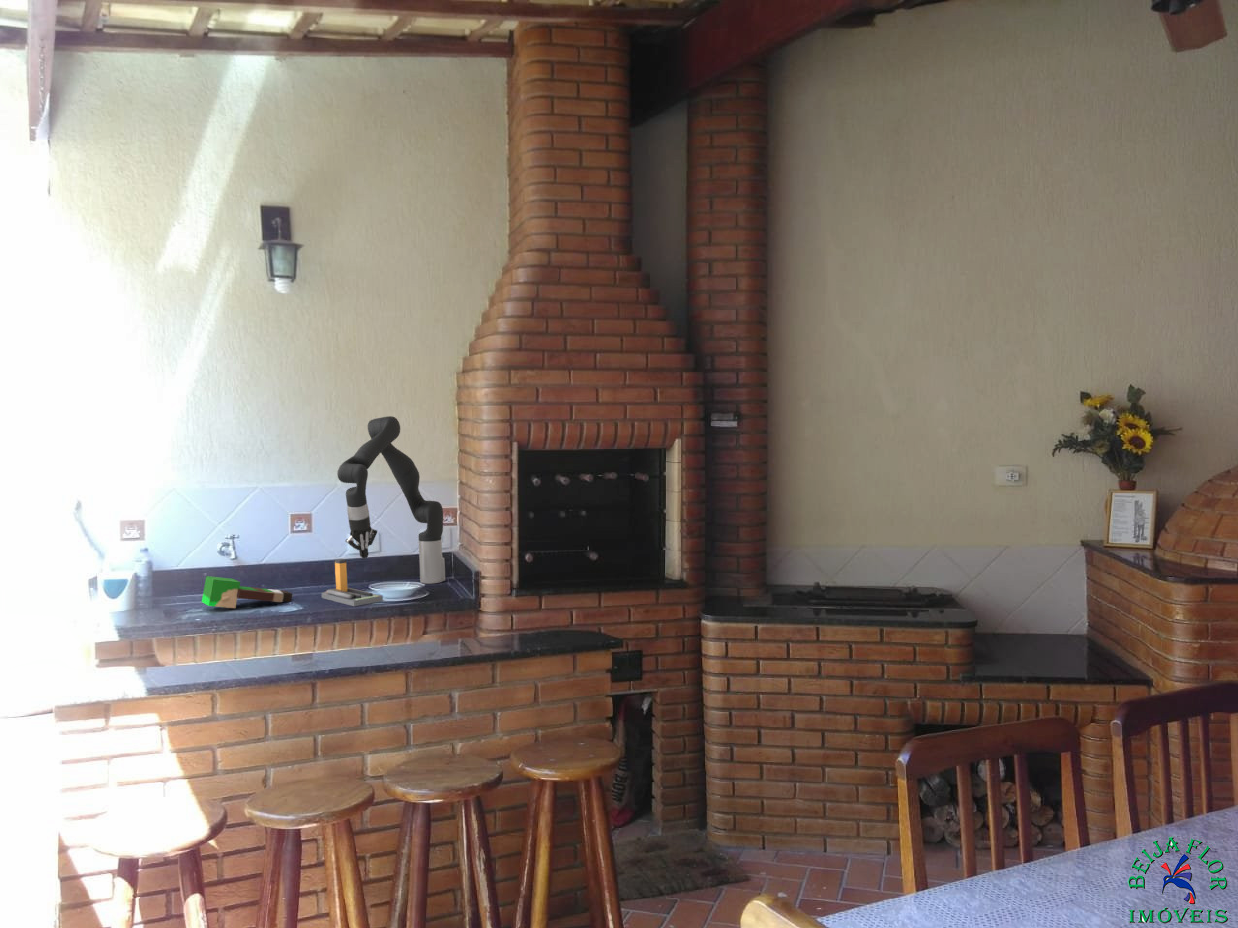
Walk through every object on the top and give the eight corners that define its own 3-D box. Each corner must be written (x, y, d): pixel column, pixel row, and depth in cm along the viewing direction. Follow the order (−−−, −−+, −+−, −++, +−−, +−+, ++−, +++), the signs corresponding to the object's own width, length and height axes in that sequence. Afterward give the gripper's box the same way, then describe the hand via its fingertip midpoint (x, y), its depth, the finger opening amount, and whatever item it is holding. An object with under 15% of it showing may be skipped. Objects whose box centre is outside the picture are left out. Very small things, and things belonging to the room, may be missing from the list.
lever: (342, 589, 410) (341, 558, 409) (347, 591, 407) (346, 559, 406) (336, 591, 408) (334, 559, 407) (340, 592, 405) (339, 560, 404)
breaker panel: (349, 593, 415) (349, 583, 415) (382, 601, 398) (382, 591, 398) (321, 597, 407) (321, 588, 407) (354, 606, 390) (353, 596, 389)
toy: (278, 610, 410) (199, 604, 393) (283, 583, 411) (204, 574, 393) (291, 617, 398) (210, 610, 380) (297, 588, 399) (215, 580, 381)
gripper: (367, 506, 396) (373, 548, 403) (337, 518, 388) (343, 560, 394) (379, 511, 392) (385, 554, 398) (349, 523, 383) (355, 566, 389)
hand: (364, 557), depth 396 cm, fingers closed
